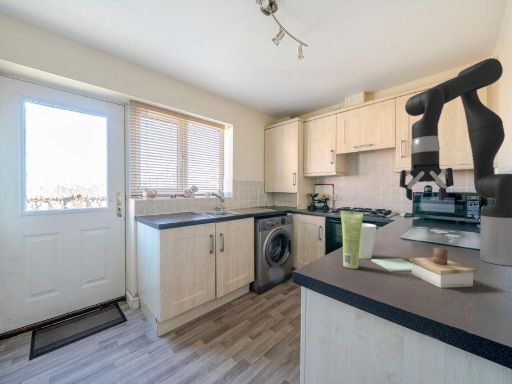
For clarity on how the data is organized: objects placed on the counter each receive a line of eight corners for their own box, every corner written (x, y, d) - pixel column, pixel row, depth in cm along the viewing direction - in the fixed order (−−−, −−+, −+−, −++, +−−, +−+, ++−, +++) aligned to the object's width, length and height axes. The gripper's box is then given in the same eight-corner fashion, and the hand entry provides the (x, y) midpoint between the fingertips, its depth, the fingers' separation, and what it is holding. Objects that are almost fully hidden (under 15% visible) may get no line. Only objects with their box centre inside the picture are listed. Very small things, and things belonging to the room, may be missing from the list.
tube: (352, 263, 81) (352, 210, 80) (363, 268, 76) (363, 212, 76) (339, 265, 79) (340, 211, 78) (350, 270, 74) (350, 212, 74)
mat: (400, 259, 85) (400, 258, 85) (424, 270, 74) (424, 268, 74) (371, 260, 84) (371, 259, 84) (391, 271, 73) (391, 269, 73)
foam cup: (379, 261, 83) (379, 227, 83) (353, 259, 85) (353, 226, 85) (371, 253, 93) (371, 223, 93) (348, 252, 95) (348, 222, 94)
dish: (439, 272, 72) (440, 260, 72) (472, 286, 62) (473, 272, 62) (411, 273, 71) (411, 261, 71) (440, 287, 61) (440, 273, 61)
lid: (439, 260, 72) (440, 243, 72) (476, 272, 61) (476, 253, 61) (409, 261, 71) (409, 244, 71) (440, 274, 60) (440, 254, 60)
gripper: (446, 151, 74) (447, 199, 74) (397, 155, 80) (398, 199, 80) (456, 147, 67) (457, 200, 67) (402, 152, 73) (403, 200, 73)
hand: (425, 199), depth 74 cm, fingers open, 8 cm apart
